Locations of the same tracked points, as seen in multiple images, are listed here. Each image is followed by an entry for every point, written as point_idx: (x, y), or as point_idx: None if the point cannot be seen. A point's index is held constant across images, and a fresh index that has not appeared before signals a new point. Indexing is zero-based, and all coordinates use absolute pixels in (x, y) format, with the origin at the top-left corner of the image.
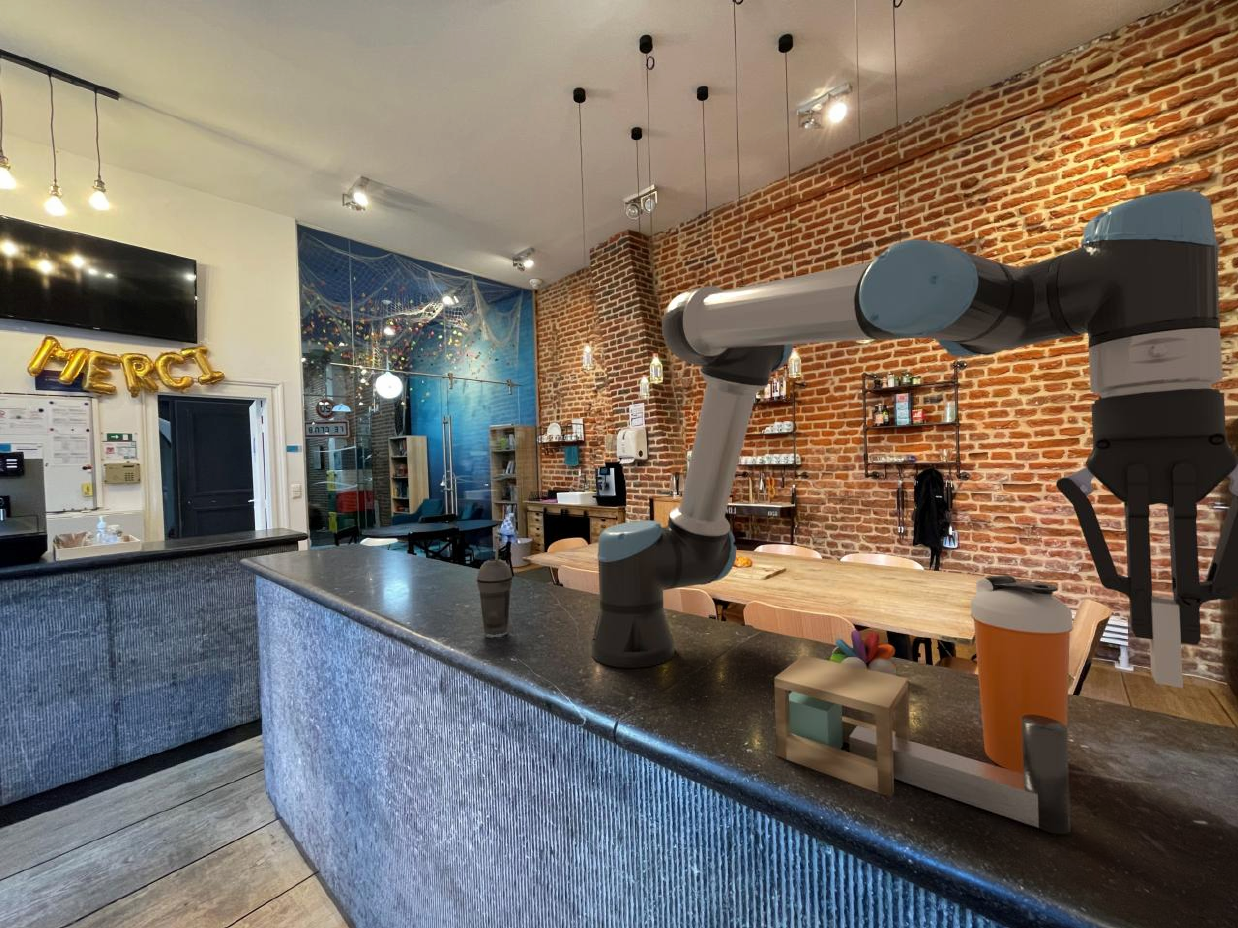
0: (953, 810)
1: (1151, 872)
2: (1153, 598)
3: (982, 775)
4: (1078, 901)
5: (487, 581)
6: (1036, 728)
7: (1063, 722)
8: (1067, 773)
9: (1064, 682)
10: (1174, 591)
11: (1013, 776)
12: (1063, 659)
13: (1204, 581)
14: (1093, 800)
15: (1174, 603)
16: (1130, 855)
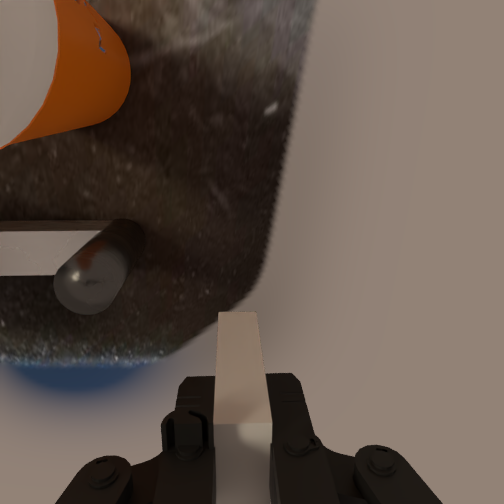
0: (33, 276)
1: (213, 259)
2: (224, 454)
3: (42, 269)
4: (157, 345)
5: None
6: (78, 313)
7: (110, 88)
8: (130, 269)
9: (90, 85)
10: (273, 482)
11: (75, 246)
12: (71, 89)
13: (355, 499)
14: (166, 137)
15: (263, 490)
16: (198, 241)
